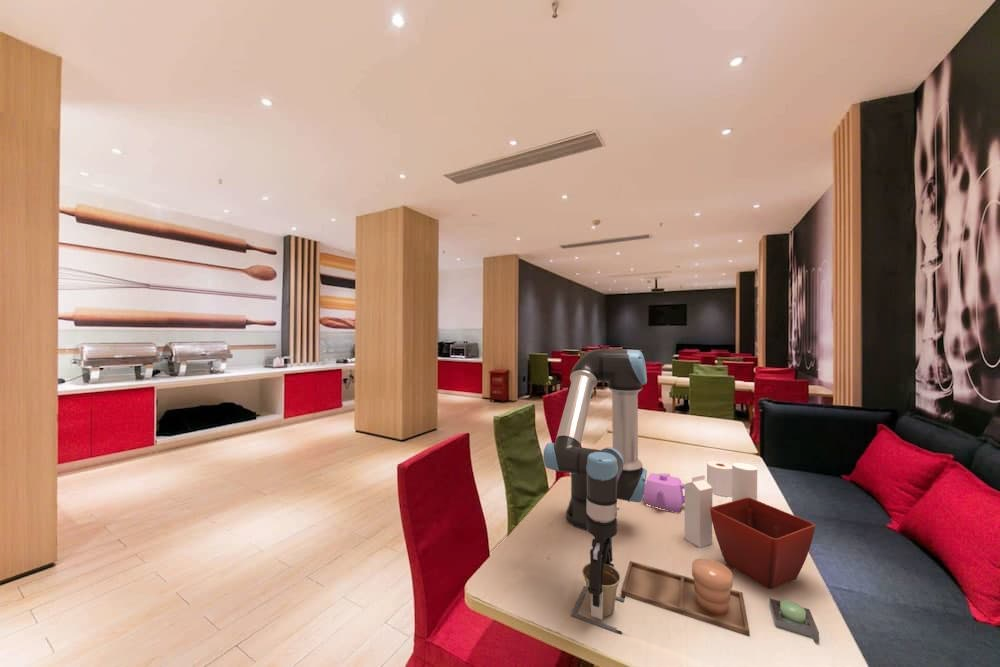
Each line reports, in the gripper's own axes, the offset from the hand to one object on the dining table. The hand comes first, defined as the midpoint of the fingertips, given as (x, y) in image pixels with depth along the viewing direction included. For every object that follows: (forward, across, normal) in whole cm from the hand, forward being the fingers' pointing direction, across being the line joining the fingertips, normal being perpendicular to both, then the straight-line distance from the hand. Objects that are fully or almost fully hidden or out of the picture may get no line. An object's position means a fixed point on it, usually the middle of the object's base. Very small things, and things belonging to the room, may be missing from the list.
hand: (601, 604), depth 94 cm
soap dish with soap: (+1, +17, -42) cm, 45 cm away
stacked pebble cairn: (0, +14, -25) cm, 28 cm away
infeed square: (+1, 0, 0) cm, 1 cm away
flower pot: (+1, 0, 0) cm, 1 cm away
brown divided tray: (+1, +14, -18) cm, 23 cm away
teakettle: (+2, +71, -9) cm, 71 cm away
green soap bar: (0, +17, -42) cm, 45 cm away
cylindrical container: (+2, +56, -36) cm, 66 cm away
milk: (+2, +47, -22) cm, 52 cm away
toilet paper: (+2, +97, -31) cm, 102 cm away
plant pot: (+1, +37, -38) cm, 53 cm away
